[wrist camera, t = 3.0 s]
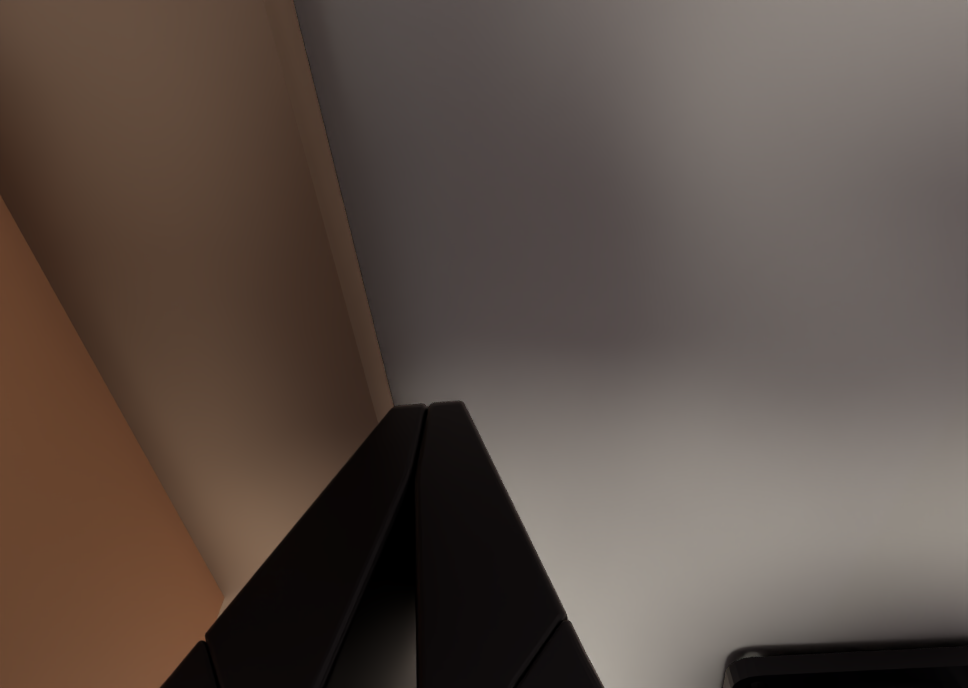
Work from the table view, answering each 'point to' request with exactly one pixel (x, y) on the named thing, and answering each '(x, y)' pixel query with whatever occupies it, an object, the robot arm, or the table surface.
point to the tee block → (81, 512)
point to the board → (196, 249)
